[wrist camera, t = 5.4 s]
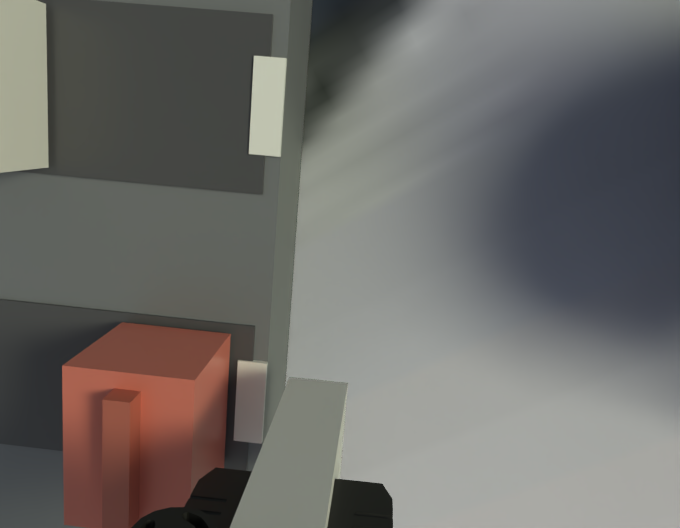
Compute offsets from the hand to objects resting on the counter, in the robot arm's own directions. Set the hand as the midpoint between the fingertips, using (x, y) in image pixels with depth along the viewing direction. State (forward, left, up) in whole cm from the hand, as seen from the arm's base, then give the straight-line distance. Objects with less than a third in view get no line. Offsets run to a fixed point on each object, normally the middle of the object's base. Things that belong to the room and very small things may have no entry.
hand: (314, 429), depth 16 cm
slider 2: (0, -4, -1) cm, 4 cm away
